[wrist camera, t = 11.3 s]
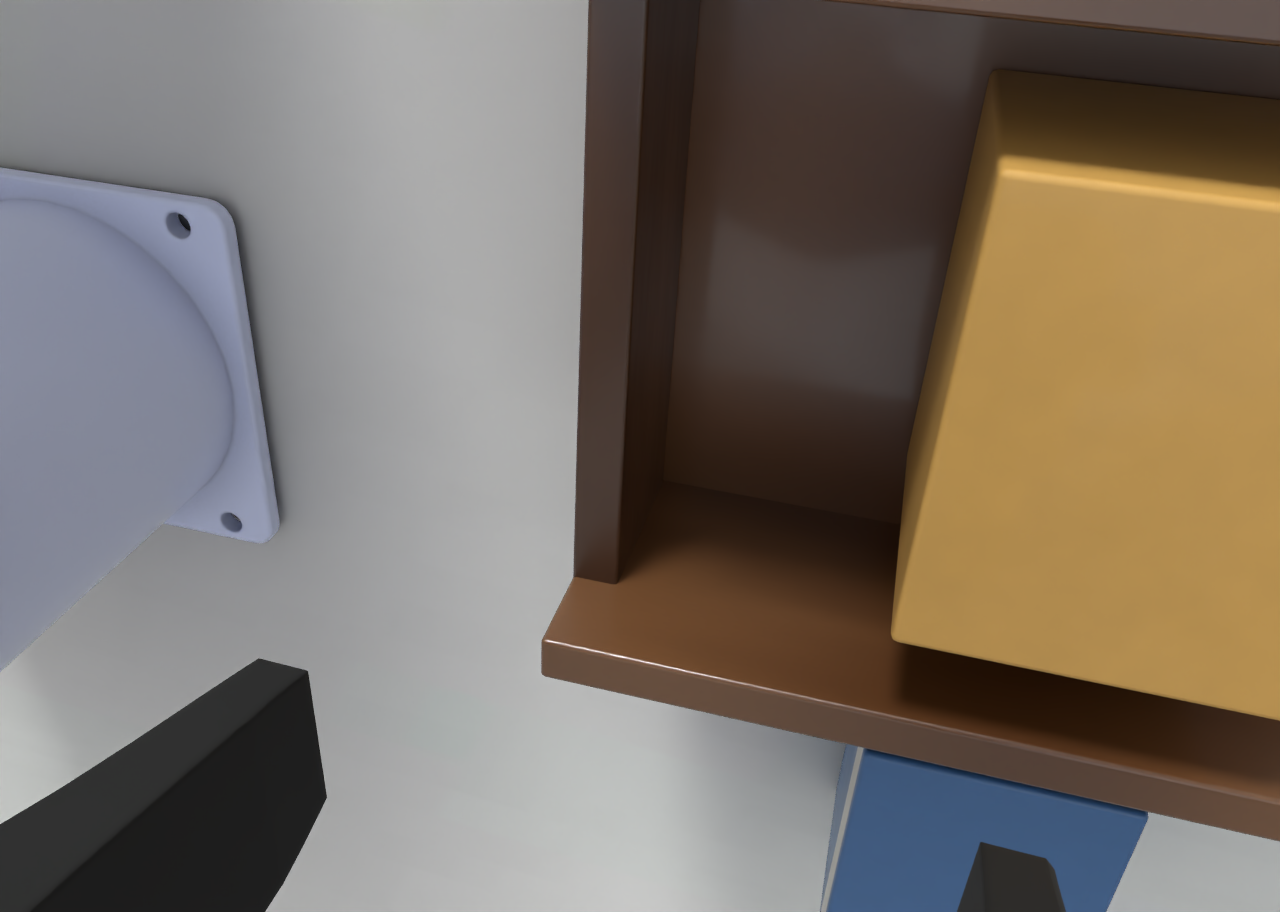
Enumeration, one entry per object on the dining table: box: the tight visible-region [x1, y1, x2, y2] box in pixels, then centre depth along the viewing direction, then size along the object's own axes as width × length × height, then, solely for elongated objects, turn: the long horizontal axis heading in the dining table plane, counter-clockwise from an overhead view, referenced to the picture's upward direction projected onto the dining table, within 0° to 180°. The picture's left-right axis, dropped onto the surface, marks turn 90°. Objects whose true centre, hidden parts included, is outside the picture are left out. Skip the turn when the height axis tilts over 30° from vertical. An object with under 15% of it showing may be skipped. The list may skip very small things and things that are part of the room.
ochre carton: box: [891, 69, 1280, 721], centre depth 13 cm, size 5×6×5 cm
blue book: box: [820, 744, 1148, 912], centre depth 21 cm, size 4×6×5 cm
